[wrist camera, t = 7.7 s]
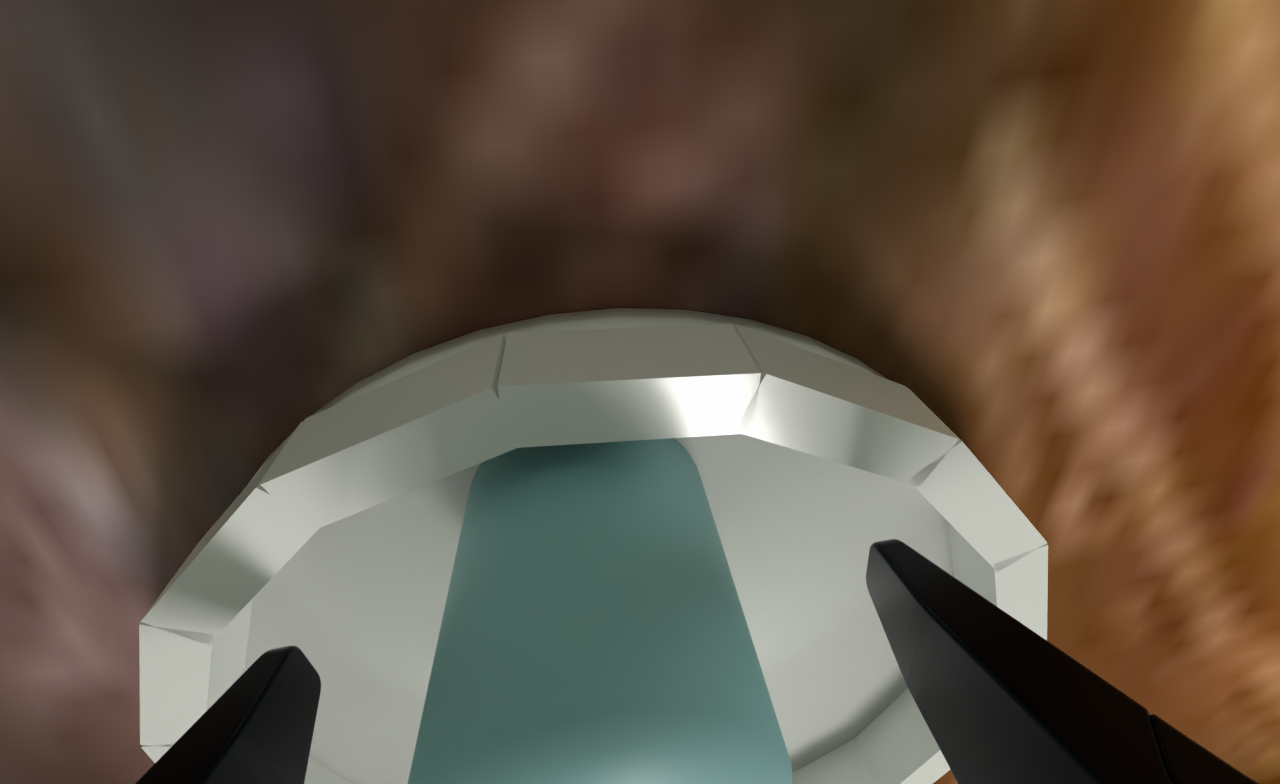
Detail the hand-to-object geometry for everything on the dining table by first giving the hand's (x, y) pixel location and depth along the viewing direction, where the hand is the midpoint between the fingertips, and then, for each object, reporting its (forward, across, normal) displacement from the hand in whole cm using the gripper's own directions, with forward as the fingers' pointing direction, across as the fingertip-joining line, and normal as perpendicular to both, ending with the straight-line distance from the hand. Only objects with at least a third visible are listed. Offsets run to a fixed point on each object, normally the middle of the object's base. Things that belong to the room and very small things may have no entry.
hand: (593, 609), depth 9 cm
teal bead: (+2, 0, 0) cm, 2 cm away
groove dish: (+3, 0, +5) cm, 6 cm away
